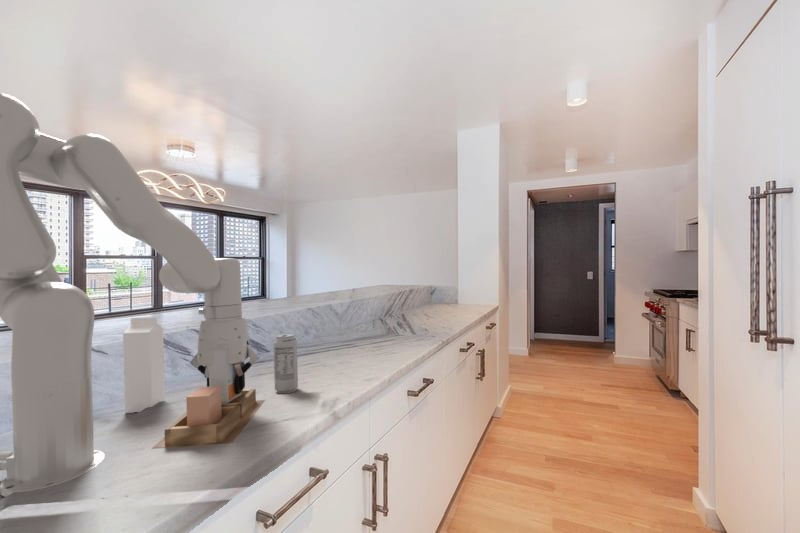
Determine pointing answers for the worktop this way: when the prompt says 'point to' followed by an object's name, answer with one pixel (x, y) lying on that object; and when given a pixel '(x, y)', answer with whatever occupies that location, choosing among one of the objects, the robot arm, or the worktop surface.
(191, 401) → the terracotta block
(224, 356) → the skincare box
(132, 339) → the milk
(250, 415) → the socket board
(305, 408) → the worktop surface
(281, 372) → the energy drink can
